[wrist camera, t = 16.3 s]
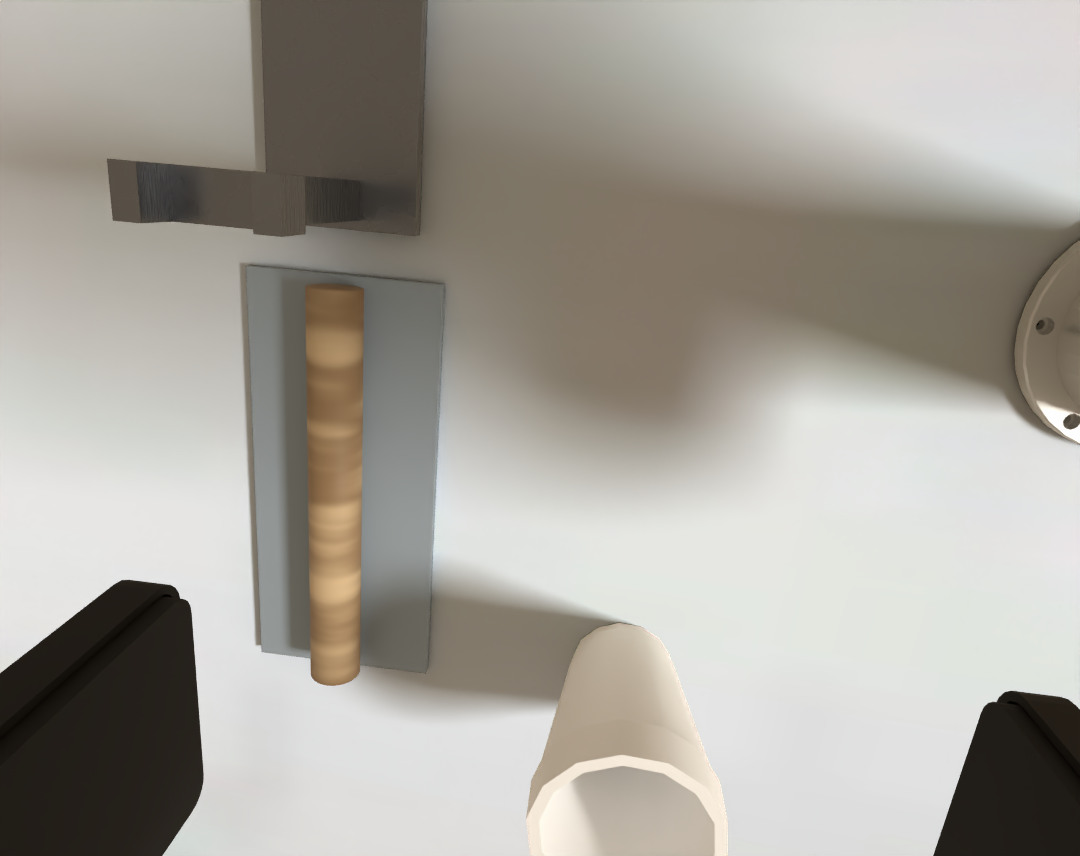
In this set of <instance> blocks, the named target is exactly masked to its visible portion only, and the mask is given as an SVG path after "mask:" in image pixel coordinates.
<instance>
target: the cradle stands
mask: <svg viewBox="0 0 1080 856" xmlns="http://www.w3.org/2000/svg"><path fill="white" fill-rule="evenodd" d="M261 19H262V51H263V84H264V116H265V149H266V172H254V171H242V170H230V169H218V168H207V167H196V166H185V165H174V164H162V163H150V162H139V161H127V160H116V159H107V163H108V173H109V184H110V194H111V205H112V215H113V221H124V222H134V223H154V222H184V223H194V224H205V225H215V226H226V227H236V228H247V229H253V232H254V234H259V235H270V236H280V237H284V236H293V235H302V234H306V229H305V225H308V226H318V227H329V228H339V229H350V230H360V231H371V232H381V233H392V234H403V235H413V236H416V235H420V210H421V180H422V149H423V119H424V88H425V58H426V27H427V0H261Z"/></svg>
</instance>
